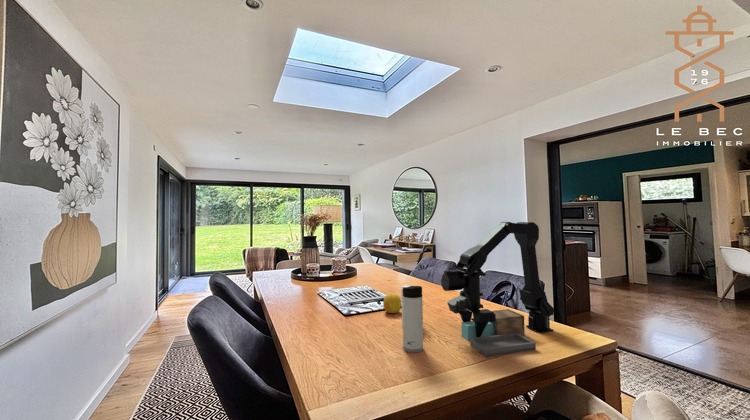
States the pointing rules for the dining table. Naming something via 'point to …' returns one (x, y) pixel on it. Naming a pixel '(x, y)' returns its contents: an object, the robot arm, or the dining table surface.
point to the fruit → (392, 303)
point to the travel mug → (412, 319)
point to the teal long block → (470, 332)
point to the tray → (502, 344)
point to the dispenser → (509, 322)
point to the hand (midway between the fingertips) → (472, 334)
